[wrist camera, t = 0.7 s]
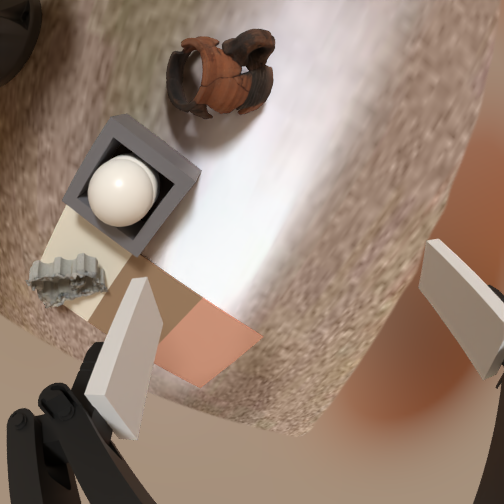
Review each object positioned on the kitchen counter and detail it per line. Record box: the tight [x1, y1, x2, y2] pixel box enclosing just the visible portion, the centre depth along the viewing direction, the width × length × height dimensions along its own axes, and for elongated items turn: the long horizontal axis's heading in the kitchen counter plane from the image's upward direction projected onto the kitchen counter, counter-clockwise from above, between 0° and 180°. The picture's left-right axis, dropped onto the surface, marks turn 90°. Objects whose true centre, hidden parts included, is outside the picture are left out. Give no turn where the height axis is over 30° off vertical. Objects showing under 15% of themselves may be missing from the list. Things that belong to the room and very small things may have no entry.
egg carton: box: [25, 253, 107, 308], centre depth 37 cm, size 11×8×4 cm
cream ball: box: [88, 153, 160, 227], centre depth 30 cm, size 7×7×7 cm
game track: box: [41, 205, 263, 388], centre depth 44 cm, size 33×16×1 cm, turn 49°
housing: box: [62, 114, 202, 258], centre depth 33 cm, size 11×11×5 cm
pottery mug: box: [166, 29, 275, 119], centre depth 27 cm, size 12×9×8 cm
